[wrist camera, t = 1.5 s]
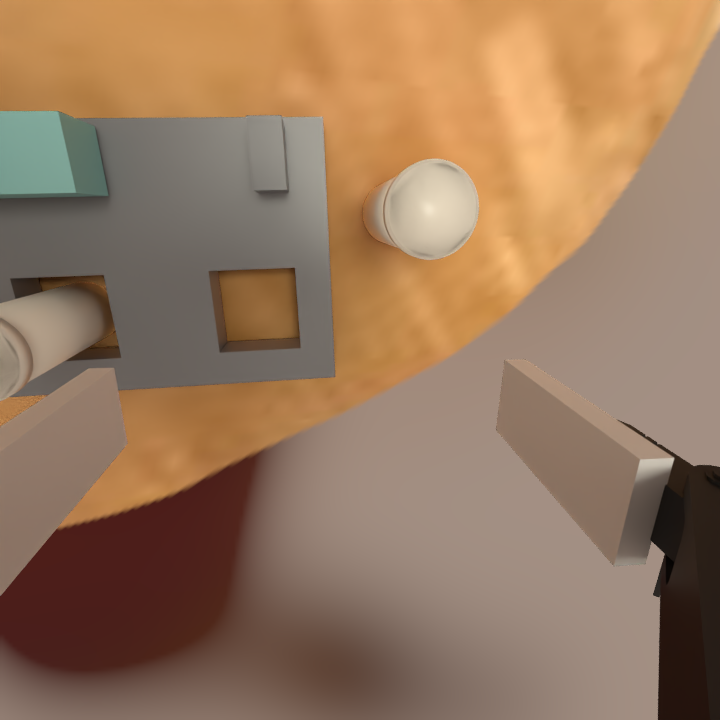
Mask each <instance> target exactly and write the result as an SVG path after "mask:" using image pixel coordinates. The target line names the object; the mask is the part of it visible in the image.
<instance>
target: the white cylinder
mask: <svg viewBox="0 0 720 720" xmlns="http://www.w3.org/2000/svg"><path fill="white" fill-rule="evenodd" d="M114 331H115V326H114V322H113V317H112V312H111V308H110V303H109V298H108V294H107V289H105V288H104V287H102V286H100V285H98V284H95V283H92V282H76V283H72V284H68V285H65V286H61V287H58V288H54V289H50V290H47V291H43V292H39V293H36V294H32V295H28V296H25V297H21V298H18V299H14V300H10V301H7V302H3V303H0V401H2V400H4V399H6V398H8V397H10V396H11V395H13V394H15V393H16V392H18V391H19V390H21V389H22V388H23V387H24V386H25V385H26V384H27V383H28V382H29V381H31V380H33V379H35V378H36V377H38V376H40V375H41V374H43V373H45V372H47V371H48V370H50V369H52V368H54V367H55V366H57V365H59V364H60V363H62V362H64V361H66V360H67V359H69V358H71V357H72V356H74V355H76V354H78V353H79V352H81V351H83V350H85V349H86V348H88V347H90V346H91V345H93V344H95V343H97V342H98V341H100V340H102V339H104V338H105V337H107V336H109V335H110V334H112V333H113V332H114Z"/></svg>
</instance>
